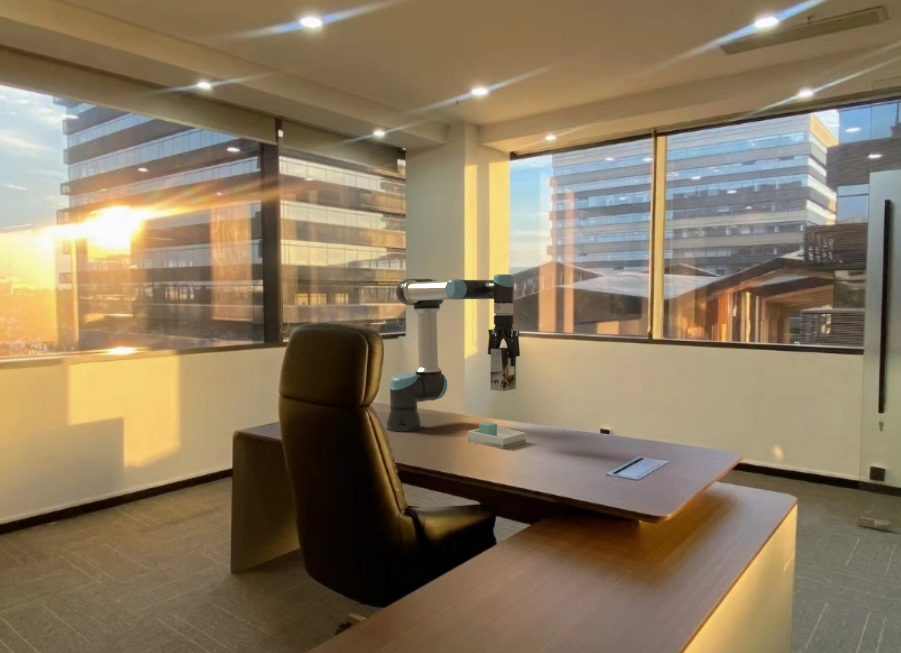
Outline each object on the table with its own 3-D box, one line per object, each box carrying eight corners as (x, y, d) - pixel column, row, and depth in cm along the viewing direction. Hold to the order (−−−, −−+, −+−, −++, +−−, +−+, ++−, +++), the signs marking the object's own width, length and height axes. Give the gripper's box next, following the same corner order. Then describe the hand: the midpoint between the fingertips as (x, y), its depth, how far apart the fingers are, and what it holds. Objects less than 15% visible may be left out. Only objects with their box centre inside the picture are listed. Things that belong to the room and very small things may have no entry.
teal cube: (479, 436, 250) (479, 423, 249) (487, 434, 253) (487, 422, 253) (488, 438, 246) (488, 425, 246) (496, 436, 250) (496, 423, 249)
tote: (467, 441, 248) (467, 431, 248) (490, 435, 258) (491, 425, 258) (503, 449, 235) (503, 438, 235) (525, 442, 245) (525, 432, 245)
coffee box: (503, 391, 237) (503, 349, 236) (489, 390, 241) (489, 348, 240) (516, 388, 244) (516, 347, 243) (502, 387, 248) (502, 346, 247)
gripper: (478, 314, 245) (478, 372, 246) (517, 315, 231) (517, 377, 232) (490, 313, 250) (490, 371, 252) (530, 314, 236) (529, 375, 238)
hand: (503, 373), depth 242 cm, fingers closed on coffee box, 7 cm apart
